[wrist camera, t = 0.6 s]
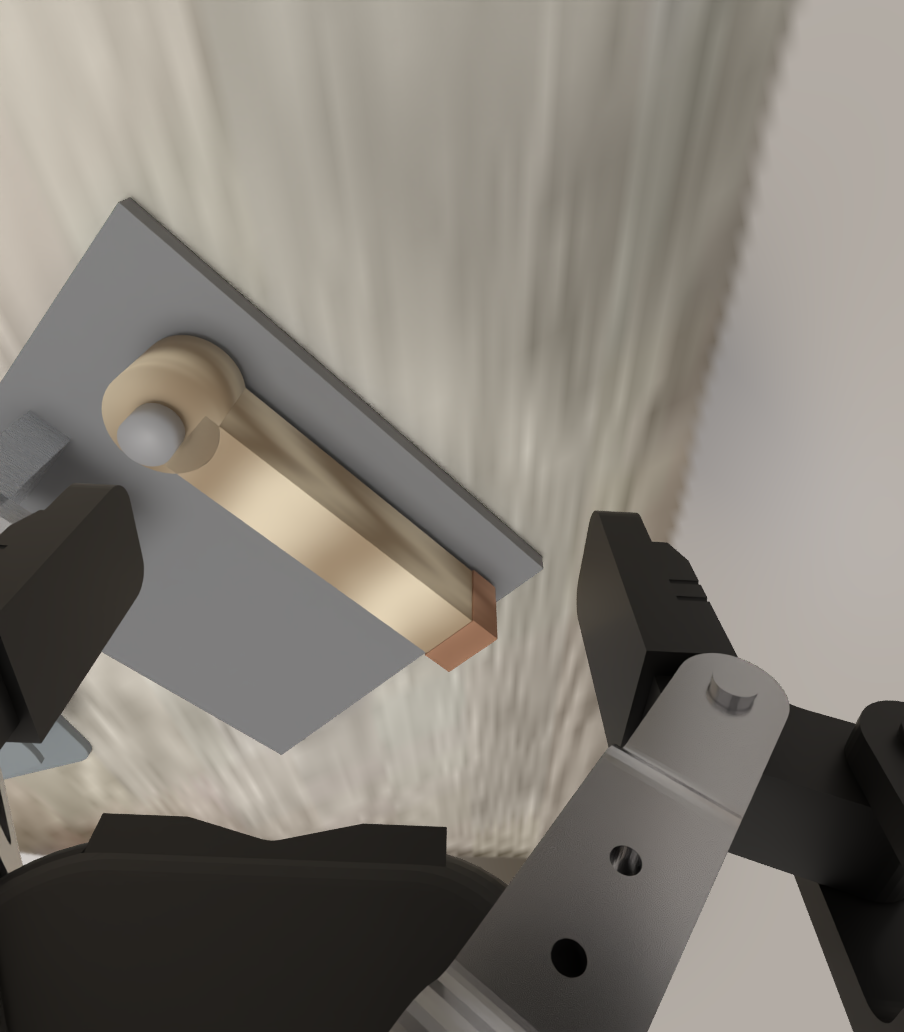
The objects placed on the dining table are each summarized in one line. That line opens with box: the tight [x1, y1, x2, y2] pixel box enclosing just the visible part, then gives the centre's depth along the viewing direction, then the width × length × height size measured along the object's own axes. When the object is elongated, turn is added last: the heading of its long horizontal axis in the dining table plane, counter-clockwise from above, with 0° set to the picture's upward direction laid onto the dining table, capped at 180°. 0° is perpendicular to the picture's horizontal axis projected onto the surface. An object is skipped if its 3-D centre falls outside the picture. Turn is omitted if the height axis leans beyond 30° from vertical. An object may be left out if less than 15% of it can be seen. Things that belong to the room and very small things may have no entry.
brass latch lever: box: [102, 335, 497, 672], centre depth 30 cm, size 19×4×4 cm, turn 45°
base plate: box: [0, 198, 543, 755], centre depth 32 cm, size 22×24×6 cm
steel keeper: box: [0, 410, 71, 534], centre depth 30 cm, size 4×6×6 cm
